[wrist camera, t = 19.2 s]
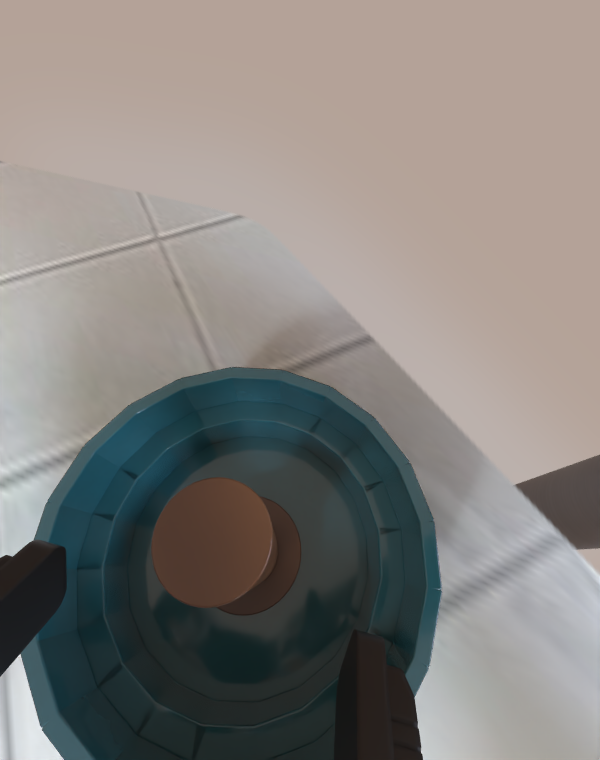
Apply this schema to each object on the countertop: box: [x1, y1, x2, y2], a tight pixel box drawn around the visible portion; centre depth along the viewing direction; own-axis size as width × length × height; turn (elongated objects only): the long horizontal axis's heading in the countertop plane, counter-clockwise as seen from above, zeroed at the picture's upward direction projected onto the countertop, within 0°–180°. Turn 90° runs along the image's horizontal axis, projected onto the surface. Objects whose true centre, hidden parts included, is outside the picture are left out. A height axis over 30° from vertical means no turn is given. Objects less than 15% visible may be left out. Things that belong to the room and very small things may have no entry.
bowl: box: [20, 367, 442, 760], centre depth 17 cm, size 15×15×6 cm
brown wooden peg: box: [151, 477, 301, 616], centre depth 14 cm, size 5×5×11 cm
